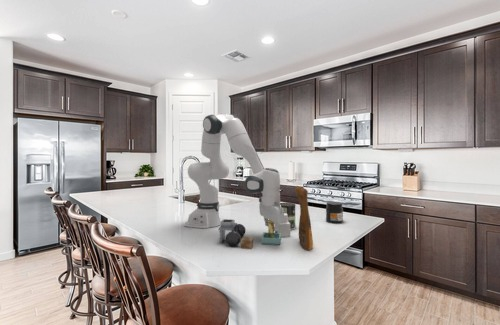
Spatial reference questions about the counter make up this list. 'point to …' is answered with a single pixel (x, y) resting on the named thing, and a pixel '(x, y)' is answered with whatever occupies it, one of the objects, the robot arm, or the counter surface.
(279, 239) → the tray
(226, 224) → the trolley
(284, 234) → the medicine bottle
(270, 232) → the pin
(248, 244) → the chock
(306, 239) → the brown wooden upright piece
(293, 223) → the coffee can
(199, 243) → the counter surface
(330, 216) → the supplement container
